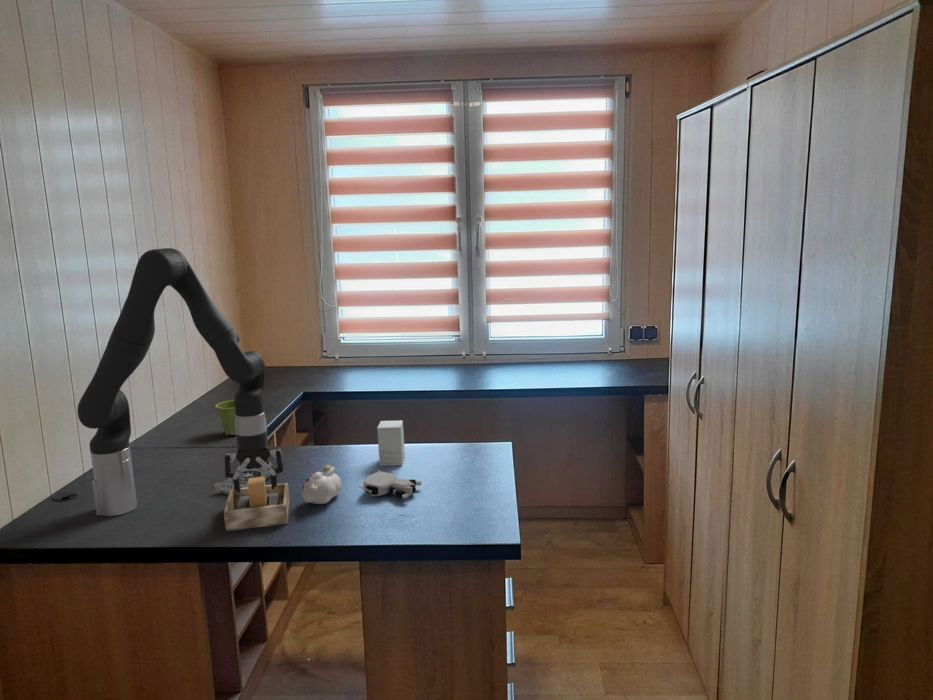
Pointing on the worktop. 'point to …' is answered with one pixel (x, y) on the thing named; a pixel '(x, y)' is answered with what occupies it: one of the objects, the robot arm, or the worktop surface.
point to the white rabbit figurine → (322, 486)
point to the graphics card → (241, 479)
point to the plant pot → (227, 416)
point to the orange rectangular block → (257, 492)
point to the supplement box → (391, 443)
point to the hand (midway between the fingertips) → (256, 489)
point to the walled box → (257, 509)
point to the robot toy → (389, 485)
